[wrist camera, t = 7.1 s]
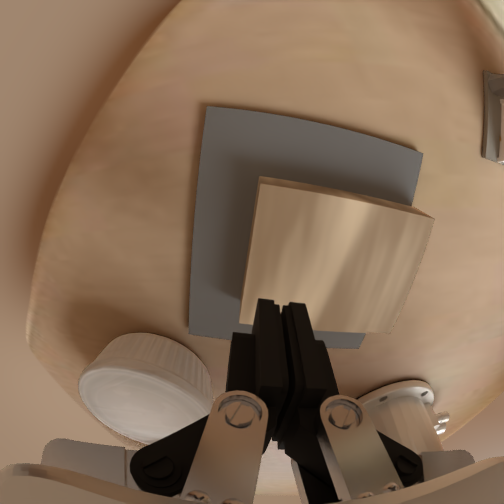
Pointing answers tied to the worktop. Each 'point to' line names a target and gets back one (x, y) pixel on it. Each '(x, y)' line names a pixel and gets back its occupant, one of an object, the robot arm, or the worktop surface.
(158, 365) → the ramekin
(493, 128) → the skyscraper
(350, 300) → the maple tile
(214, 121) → the mat
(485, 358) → the worktop surface
